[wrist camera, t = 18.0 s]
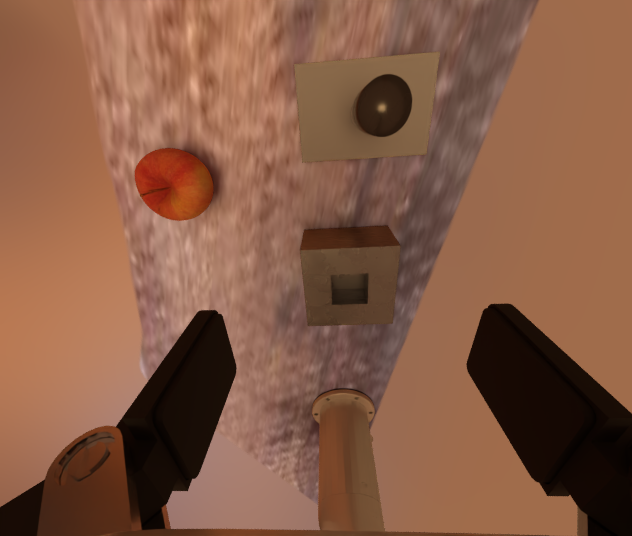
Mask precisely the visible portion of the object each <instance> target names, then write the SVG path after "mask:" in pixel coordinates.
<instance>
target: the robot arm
mask: <svg viewBox="0 0 632 536" xmlns="http://www.w3.org/2000/svg"><path fill="white" fill-rule="evenodd" d="M467 370H468V372H469V374H470V376H471V378H472V380H473V381H474V383H475V384H476V386H477V388H478V390H479V391H480V393H481V394H482V396H483V397H484V399H485V401H486V403H487V404H488V406H489V408H490V409H491V411H492V413H493V414H494V416H495V418H496V419H497V421H498V423H499V424H500V426H501V428H502V429H503V431H504V433H505V434H506V436H507V438H508V439H509V441H510V443H511V444H512V446H513V448H514V449H515V451H516V453H517V454H518V456H519V458H520V459H521V461H522V463H523V464H524V466H525V468H526V469H527V471H528V473H529V474H530V476H531V477H532V478H533V479H534V480H535V481H536V482H539V483H540V485H541V486H542V488H543V489H544V491H545V492H546V494H547V496H569V495H571V497H572V498H573V500H574V501H575V503H576V504H577V506H578V525H577V527H578V528H577V530H578V531H577V535H578V536H632V414H631V413H630V412H629V411H628V410H627V409H626V408H625V407H624V406H623V405H622V404H620V403H619V402H618V401H617V400H616V399H615V398H614V397H613V396H612V395H611V394H610V393H608V392H607V391H606V390H605V389H604V388H603V387H602V386H601V385H600V384H599V383H597V382H596V381H595V380H594V379H593V378H592V377H591V376H590V375H589V374H588V373H587V372H585V371H584V370H583V369H582V368H581V367H580V366H579V365H578V364H577V363H576V362H575V361H573V360H572V359H571V358H570V357H569V356H568V355H567V354H566V353H565V352H564V351H562V350H561V349H560V348H559V347H558V346H557V345H556V344H555V343H554V342H553V341H551V340H550V339H549V338H548V337H547V336H546V335H545V334H544V333H543V332H542V331H540V330H539V329H538V328H537V327H536V326H535V325H534V324H533V323H532V322H531V321H529V320H528V319H527V318H526V317H525V316H524V315H523V314H522V313H521V312H520V311H519V310H518V309H516V308H515V307H514V306H513V305H511V304H491V305H489V306H488V308H486V309H484V311H483V313H482V316H481V319H480V322H479V326H478V329H477V332H476V335H475V338H474V341H473V345H472V348H471V351H470V354H469V357H468V361H467ZM235 375H236V363H235V359H234V356H233V352H232V348H231V345H230V341H229V337H228V334H227V330H226V327H225V323H224V319H223V316H222V315H221V314H218V312H217V311H216V310H202V311H198V312H197V314H196V315H195V316H194V318H193V319H192V321H191V322H190V323H189V325H188V326H187V328H186V329H185V330H184V332H183V333H182V335H181V336H180V337H179V339H178V340H177V342H176V343H175V345H174V346H173V347H172V349H171V350H170V352H169V353H168V354H167V356H166V357H165V358H164V360H163V361H162V363H161V364H160V365H159V367H158V368H157V370H156V371H155V373H154V374H153V375H152V377H151V378H150V380H149V381H148V382H147V384H146V385H145V387H144V388H143V389H142V391H141V392H140V394H139V395H138V396H137V398H136V399H135V401H134V402H133V403H132V405H131V406H130V408H129V409H128V410H127V412H126V413H125V415H124V416H123V418H122V419H121V420H120V422H119V423H118V425H117V426H116V427H114V426H103V427H98V428H95V429H93V430H91V431H88V432H86V433H85V434H83V435H82V436H80V437H78V438H77V439H75V440H74V441H73V442H71V443H70V444H69V445H68V446H67V447H65V449H63V450H62V452H61V453H60V454H59V455H58V456H57V457H56V458H55V460H54V461H53V463H52V464H51V466H50V467H49V469H48V472H47V475H46V478H45V480H43V481H42V482H40V483H39V484H37V485H35V486H34V487H32V488H30V489H29V490H27V491H26V492H24V493H22V494H21V495H19V496H18V497H16V498H14V499H13V500H11V501H10V502H8V503H6V504H5V505H3V506H1V507H0V536H544V535H508V534H469V533H425V532H385V529H384V522H383V516H382V509H381V502H380V496H379V489H378V483H377V476H376V469H375V462H374V456H373V449H372V441H373V437H372V436H371V435H370V429H369V422H370V421H371V420H372V419H373V417H374V414H375V410H374V405H373V402H372V401H371V399H370V398H369V397H367V396H366V395H364V394H362V393H360V392H357V391H354V390H348V389H340V390H333V391H329V392H326V393H324V394H322V395H321V396H319V397H318V398H317V399H316V400H315V401H314V403H313V407H312V415H313V417H314V419H315V420H316V422H318V423H319V424H320V431H319V493H318V519H319V527H320V530H267V529H266V530H265V529H171V527H170V522H169V518H168V512H167V508H166V504H167V502H168V500H169V497H170V495H171V493H172V491H188V489H189V486H190V483H191V481H192V479H195V478H196V477H197V476H198V474H199V472H200V470H201V467H202V464H203V462H204V459H205V456H206V454H207V451H208V448H209V446H210V443H211V440H212V437H213V435H214V432H215V429H216V427H217V424H218V421H219V418H220V416H221V413H222V410H223V408H224V405H225V402H226V400H227V397H228V394H229V391H230V389H231V386H232V383H233V381H234V378H235ZM545 536H546V535H545Z"/></svg>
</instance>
